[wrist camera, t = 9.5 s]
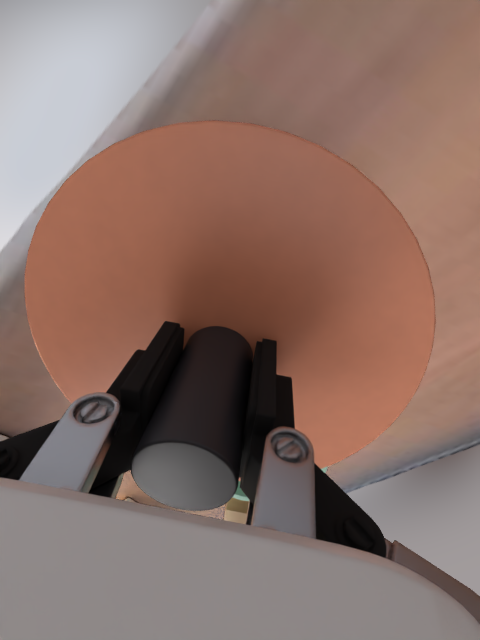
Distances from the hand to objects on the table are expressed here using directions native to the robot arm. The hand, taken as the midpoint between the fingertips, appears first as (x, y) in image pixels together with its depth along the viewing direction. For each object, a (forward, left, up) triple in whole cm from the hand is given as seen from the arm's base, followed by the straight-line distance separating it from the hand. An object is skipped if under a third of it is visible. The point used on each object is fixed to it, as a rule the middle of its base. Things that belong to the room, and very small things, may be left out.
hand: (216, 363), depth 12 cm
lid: (0, 0, -1) cm, 1 cm away
